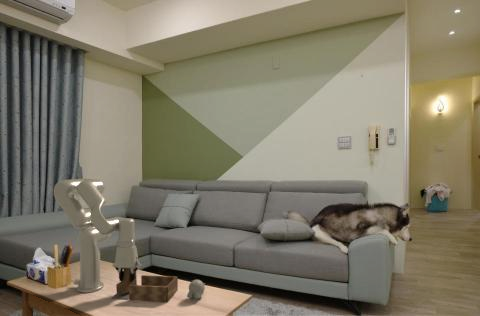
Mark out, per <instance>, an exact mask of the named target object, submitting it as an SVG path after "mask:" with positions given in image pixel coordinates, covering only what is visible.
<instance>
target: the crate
mask: <svg viewBox="0 0 480 316" xmlns="http://www.w3.org/2000/svg"><path fill="white" fill-rule="evenodd" d="M140 279H141V280H140V281H141V283H140V285H139V284H137V285H129V299H128V301H130V302H131V301H132V302H151V303H152V302H153V303H169V302H170V300H171V299H172V298H173V297H174V295H175V294H176V293H177V292H178V291H179V290H178V289H179V286H178V285H179V284H178V283H179V282H178V279H179V277H178V276H175V275H174V276H171V275H147V274H145V275H144V274H142V275H141V276H140Z"/></svg>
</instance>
